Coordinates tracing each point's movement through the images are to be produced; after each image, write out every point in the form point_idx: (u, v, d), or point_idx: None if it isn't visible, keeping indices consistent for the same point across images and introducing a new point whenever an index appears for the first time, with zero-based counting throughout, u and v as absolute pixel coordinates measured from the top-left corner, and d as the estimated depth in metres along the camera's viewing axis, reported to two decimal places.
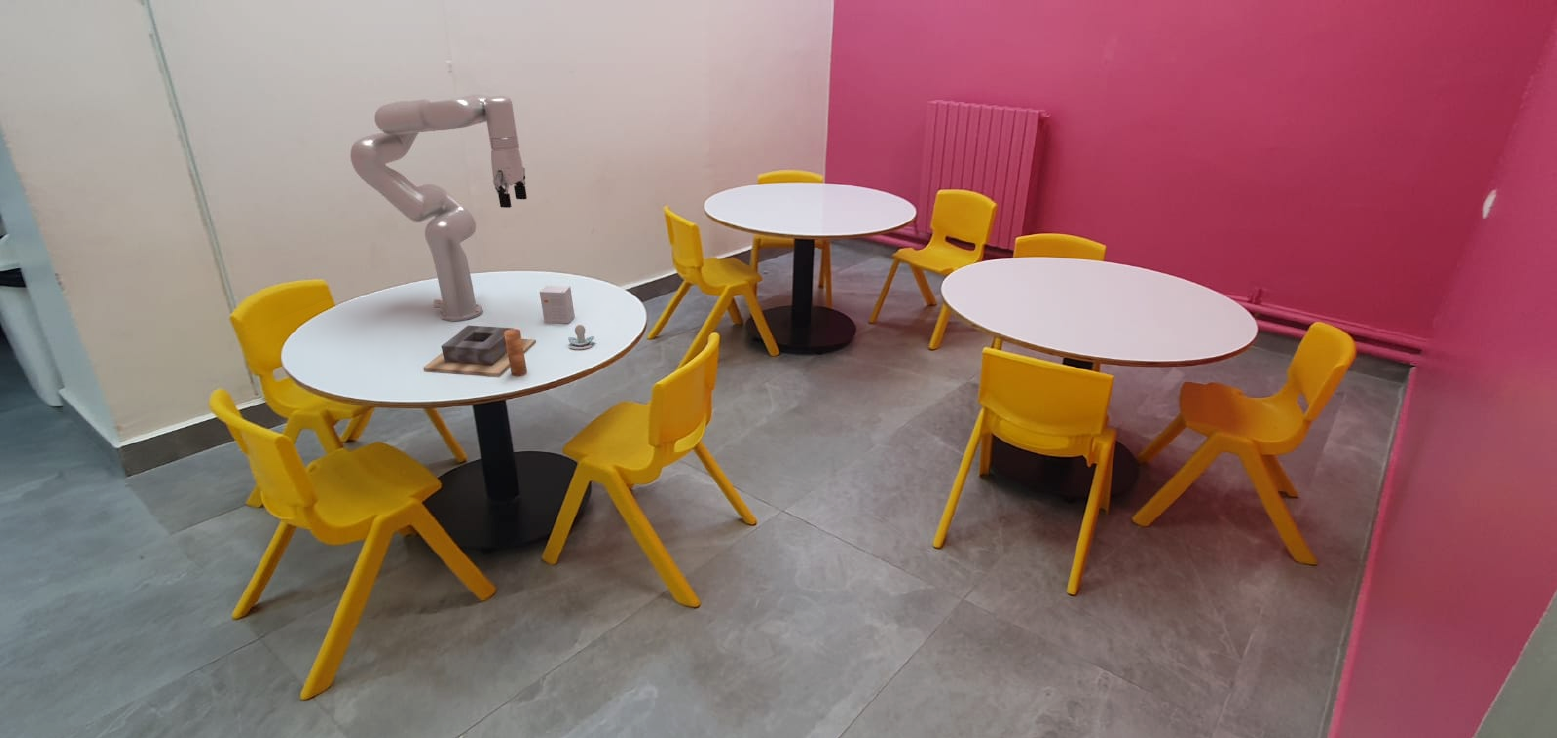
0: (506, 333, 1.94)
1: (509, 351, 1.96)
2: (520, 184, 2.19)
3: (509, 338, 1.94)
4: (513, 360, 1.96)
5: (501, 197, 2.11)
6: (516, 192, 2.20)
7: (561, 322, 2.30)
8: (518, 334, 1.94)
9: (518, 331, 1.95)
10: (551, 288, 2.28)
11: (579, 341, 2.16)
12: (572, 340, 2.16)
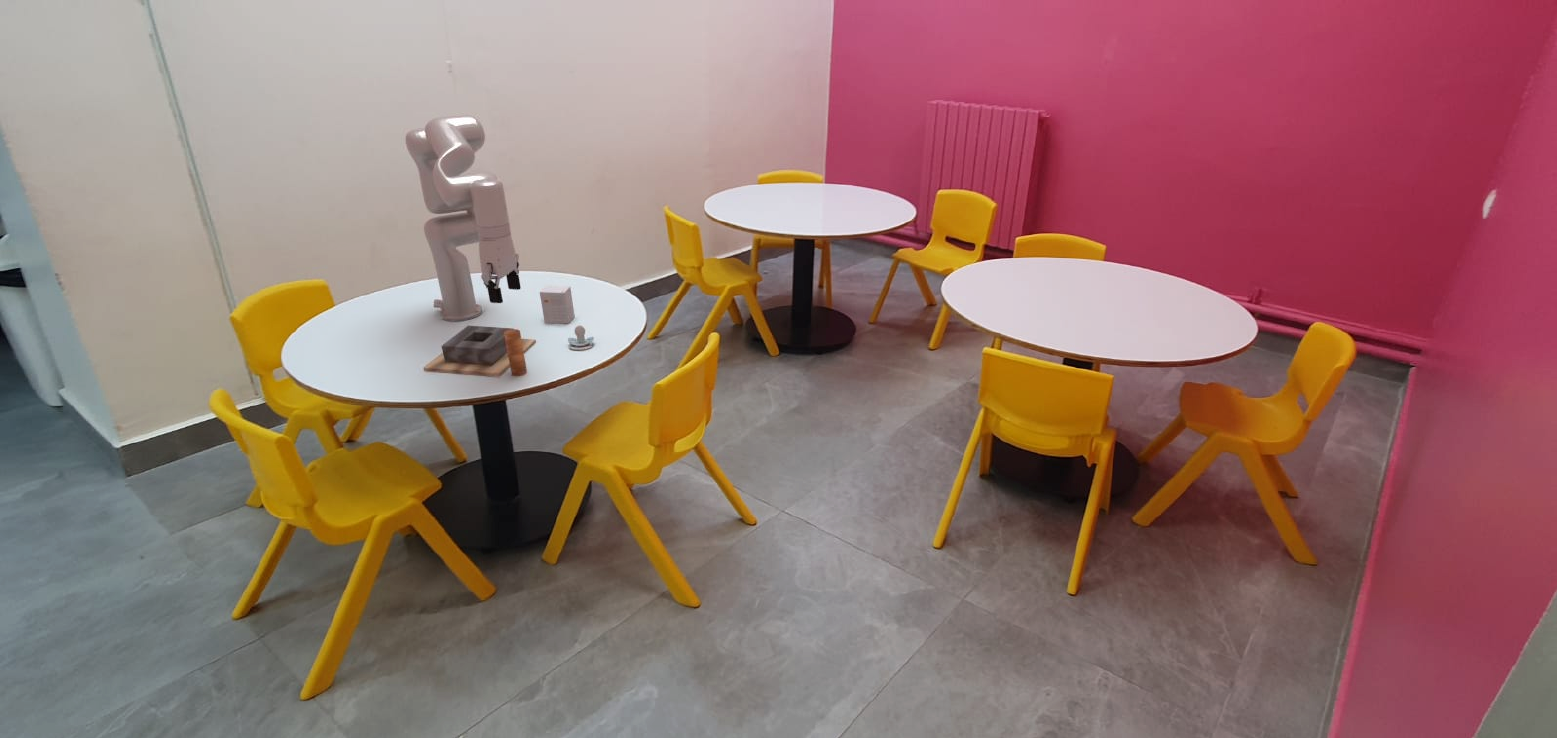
0: (506, 333, 1.94)
1: (509, 351, 1.95)
2: (513, 273, 1.92)
3: (509, 338, 1.94)
4: (513, 360, 1.96)
5: (491, 292, 1.84)
6: (508, 282, 1.93)
7: (561, 322, 2.30)
8: (518, 334, 1.94)
9: (518, 331, 1.95)
10: (551, 288, 2.28)
11: (579, 342, 2.15)
12: (572, 341, 2.15)
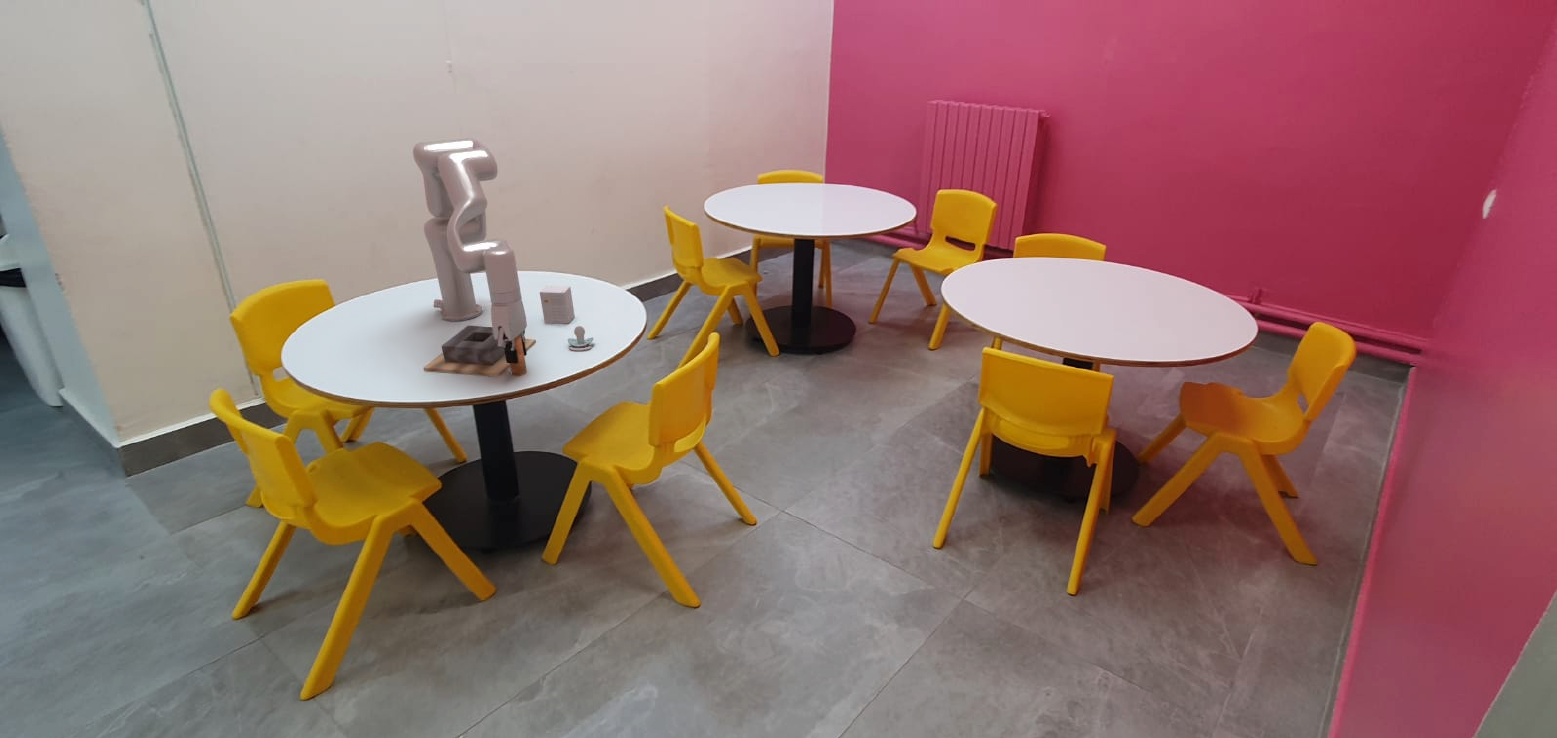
0: None
1: None
2: None
3: None
4: None
5: (507, 353, 1.94)
6: None
7: (561, 322, 2.30)
8: None
9: None
10: (551, 288, 2.28)
11: (578, 342, 2.15)
12: (571, 341, 2.15)
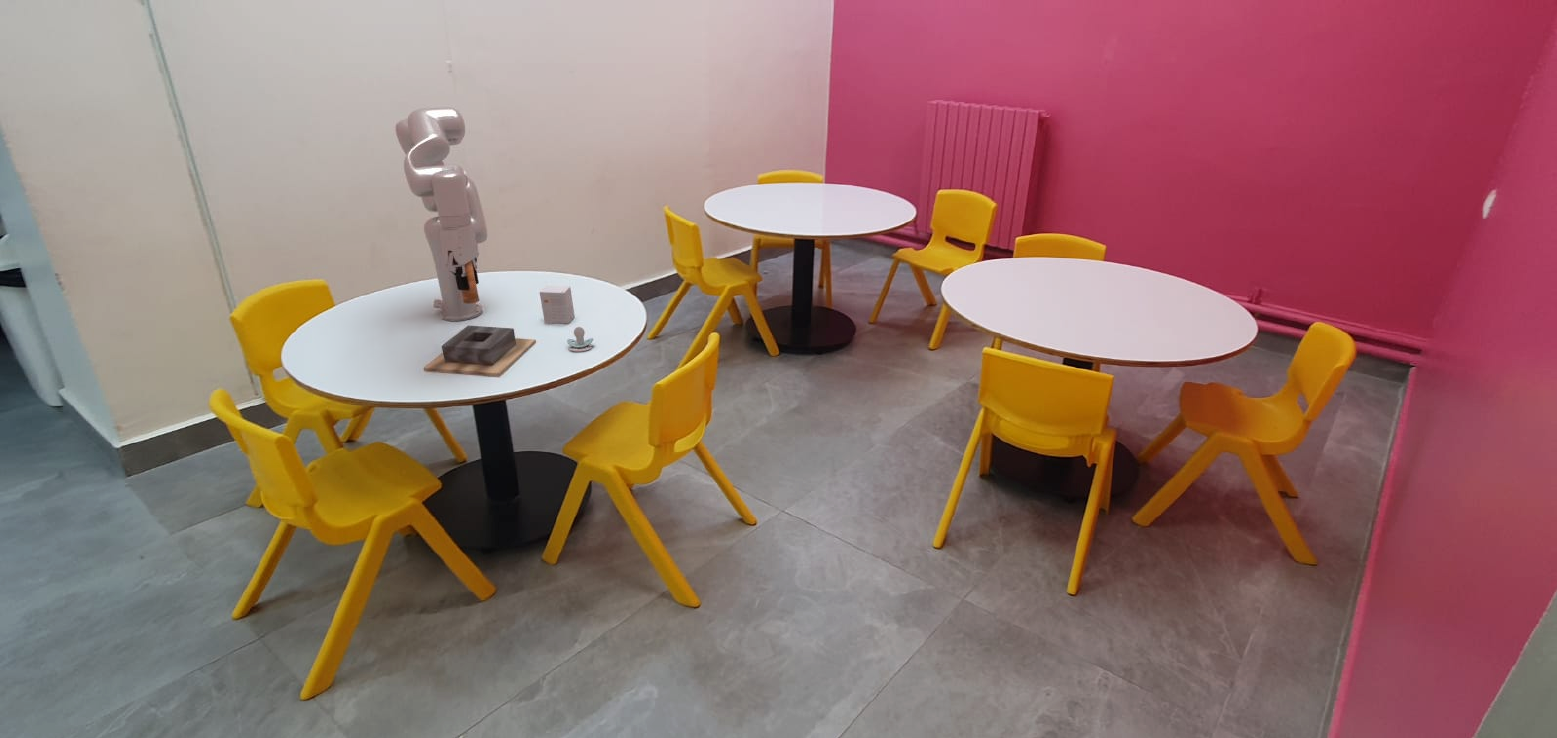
0: None
1: None
2: None
3: None
4: None
5: (458, 279, 1.96)
6: None
7: (561, 322, 2.30)
8: None
9: None
10: (551, 288, 2.28)
11: (578, 343, 2.14)
12: (571, 342, 2.15)
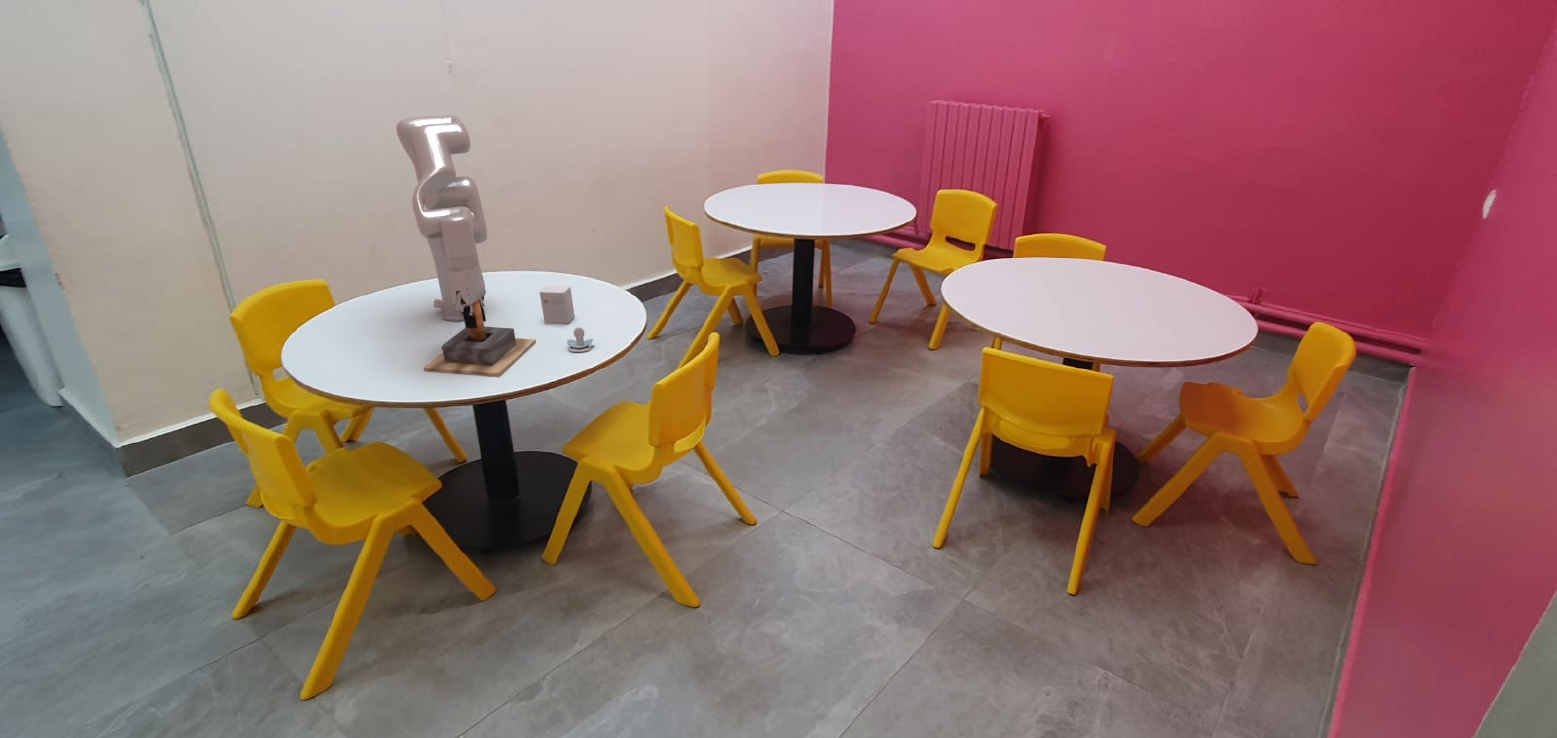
0: None
1: None
2: None
3: None
4: None
5: (466, 318, 2.00)
6: None
7: (561, 322, 2.30)
8: None
9: None
10: (551, 288, 2.28)
11: (578, 344, 2.14)
12: (571, 343, 2.14)
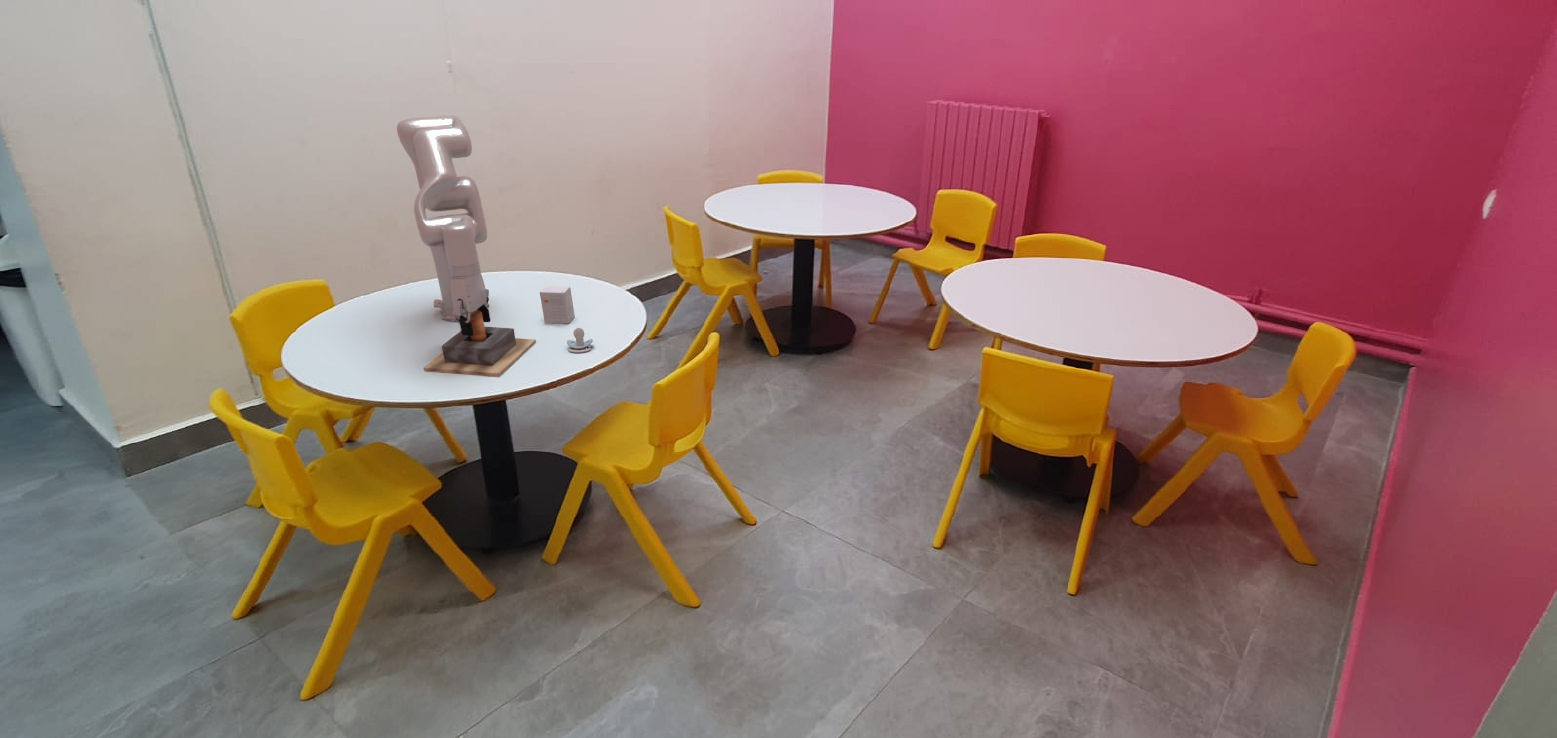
0: None
1: None
2: (483, 307, 2.07)
3: (471, 319, 2.02)
4: (475, 340, 2.05)
5: (462, 325, 1.99)
6: None
7: (561, 322, 2.30)
8: (479, 315, 2.03)
9: (480, 312, 2.04)
10: (551, 288, 2.28)
11: (578, 344, 2.14)
12: (571, 343, 2.14)
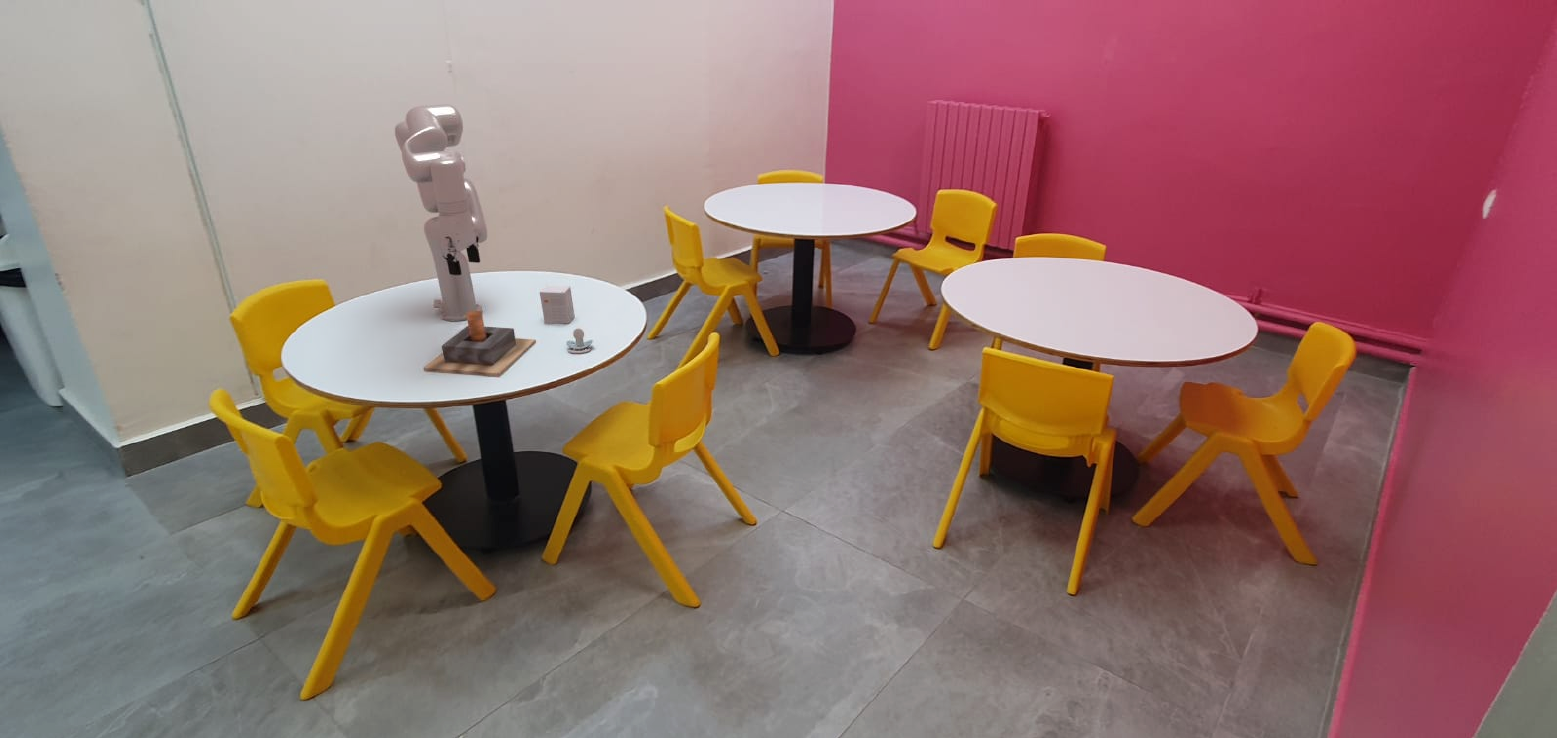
0: (468, 314, 2.03)
1: (471, 331, 2.04)
2: (473, 247, 2.03)
3: (471, 319, 2.02)
4: (475, 340, 2.05)
5: (450, 264, 1.95)
6: (469, 255, 2.04)
7: (561, 322, 2.30)
8: (479, 315, 2.03)
9: (480, 312, 2.04)
10: (551, 288, 2.28)
11: (578, 345, 2.13)
12: (570, 344, 2.13)
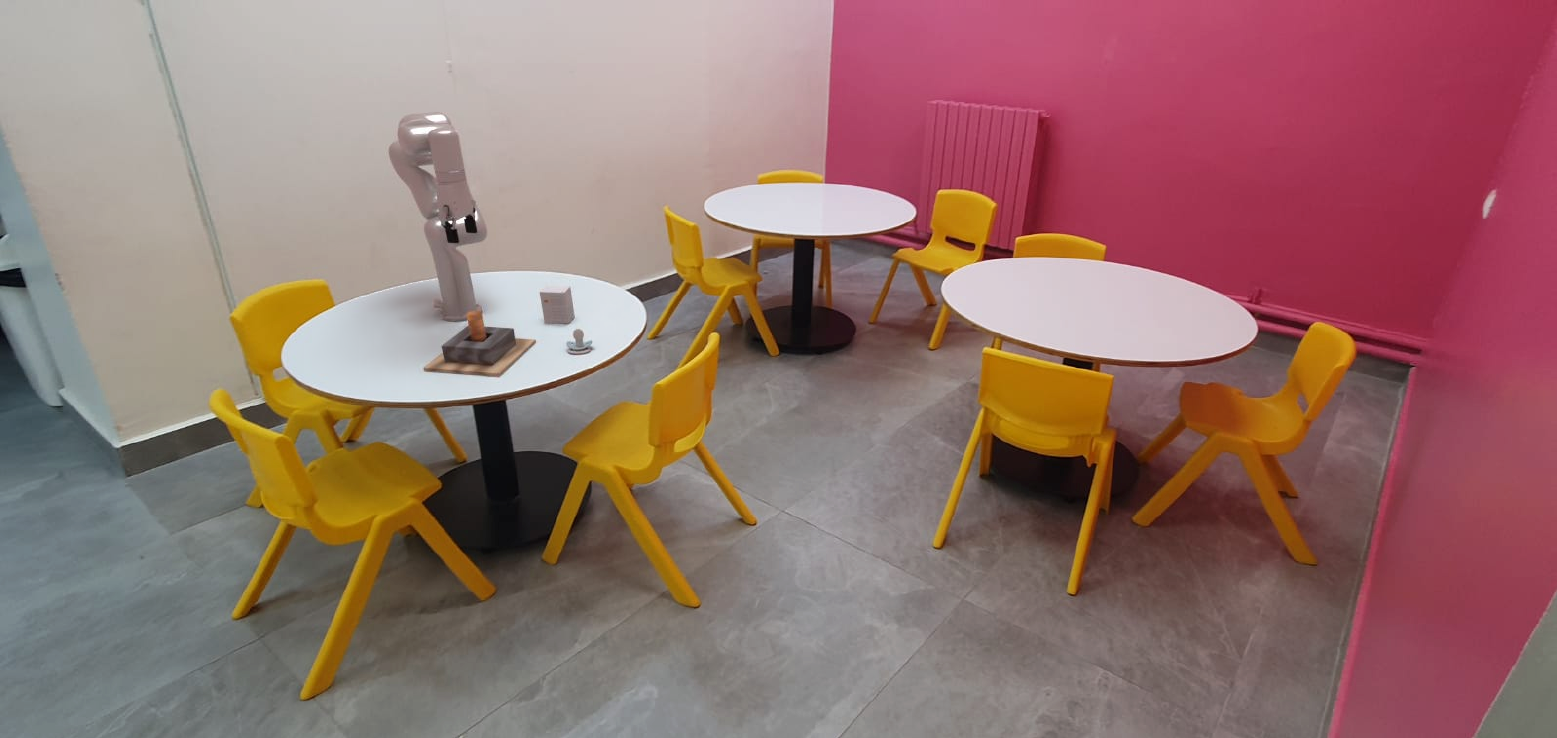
0: (468, 314, 2.03)
1: (471, 331, 2.04)
2: (470, 217, 2.10)
3: (471, 319, 2.02)
4: (475, 340, 2.05)
5: (448, 232, 2.02)
6: (466, 226, 2.11)
7: (561, 322, 2.30)
8: (480, 315, 2.03)
9: (480, 312, 2.04)
10: (551, 288, 2.28)
11: (577, 345, 2.13)
12: (570, 344, 2.13)
